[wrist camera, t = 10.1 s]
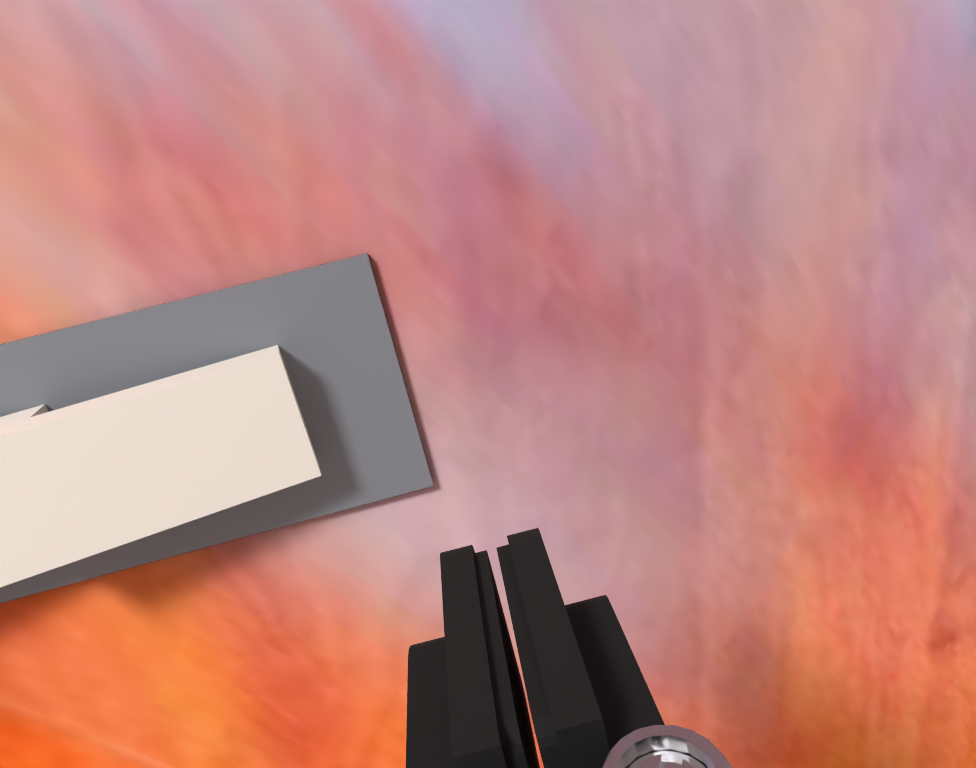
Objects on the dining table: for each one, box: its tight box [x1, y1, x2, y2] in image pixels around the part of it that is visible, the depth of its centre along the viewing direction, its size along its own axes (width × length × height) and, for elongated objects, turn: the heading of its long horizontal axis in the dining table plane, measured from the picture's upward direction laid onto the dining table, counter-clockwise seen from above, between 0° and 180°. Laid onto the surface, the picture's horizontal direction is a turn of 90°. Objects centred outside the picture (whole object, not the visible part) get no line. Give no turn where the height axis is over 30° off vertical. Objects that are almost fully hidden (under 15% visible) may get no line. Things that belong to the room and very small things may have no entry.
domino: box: [0, 345, 321, 587], centre depth 24 cm, size 2×5×12 cm
